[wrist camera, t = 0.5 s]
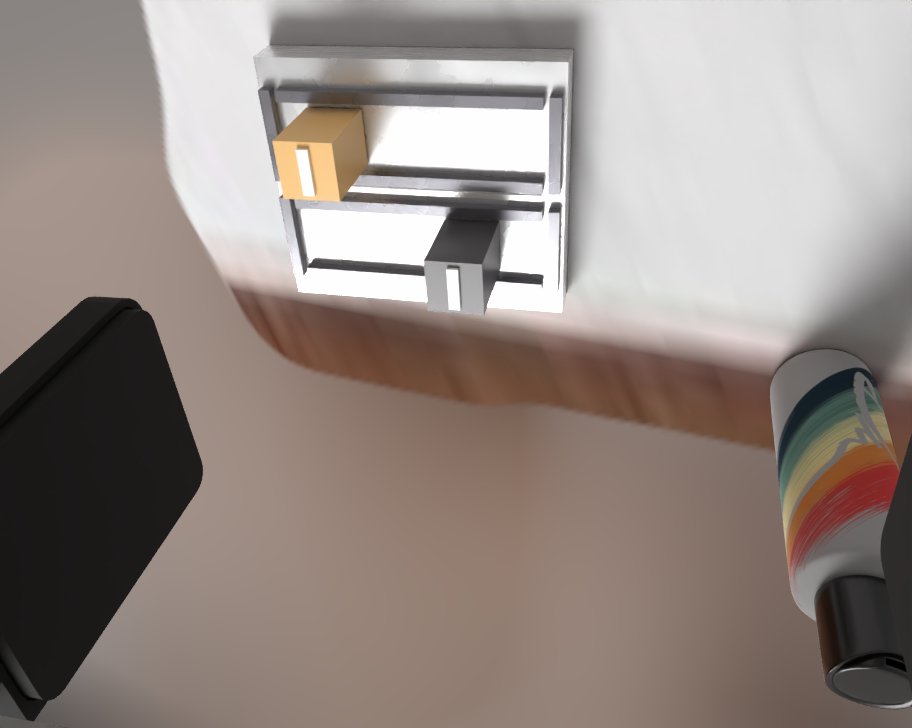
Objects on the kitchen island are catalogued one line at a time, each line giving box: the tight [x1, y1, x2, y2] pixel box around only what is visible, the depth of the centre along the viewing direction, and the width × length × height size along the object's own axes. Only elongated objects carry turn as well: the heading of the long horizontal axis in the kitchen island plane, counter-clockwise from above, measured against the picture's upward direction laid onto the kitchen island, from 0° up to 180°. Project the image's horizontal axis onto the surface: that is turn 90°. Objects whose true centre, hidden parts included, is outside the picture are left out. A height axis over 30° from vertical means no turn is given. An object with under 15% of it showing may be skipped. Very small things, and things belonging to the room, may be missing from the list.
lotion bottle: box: [770, 349, 912, 709], centre depth 41 cm, size 6×6×20 cm
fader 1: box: [272, 107, 368, 202], centre depth 42 cm, size 3×3×5 cm
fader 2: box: [423, 219, 500, 315], centre depth 44 cm, size 3×3×5 cm
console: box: [253, 45, 573, 312], centre depth 46 cm, size 14×16×3 cm
